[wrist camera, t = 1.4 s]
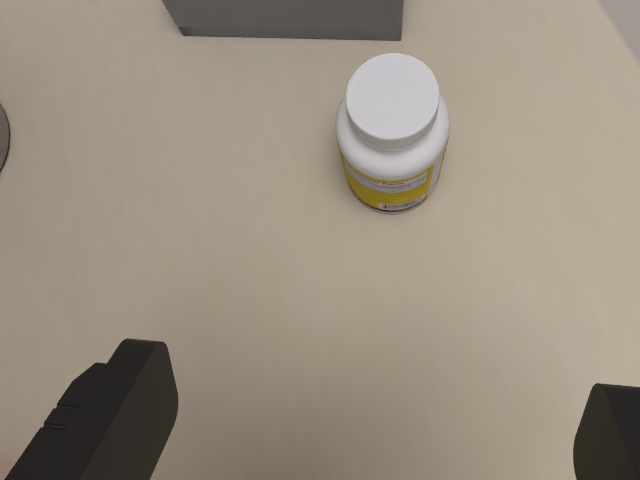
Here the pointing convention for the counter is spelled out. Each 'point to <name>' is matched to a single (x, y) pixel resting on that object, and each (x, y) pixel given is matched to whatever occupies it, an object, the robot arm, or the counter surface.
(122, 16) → the counter surface
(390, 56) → the supplement bottle
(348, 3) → the tote
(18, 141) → the counter surface
